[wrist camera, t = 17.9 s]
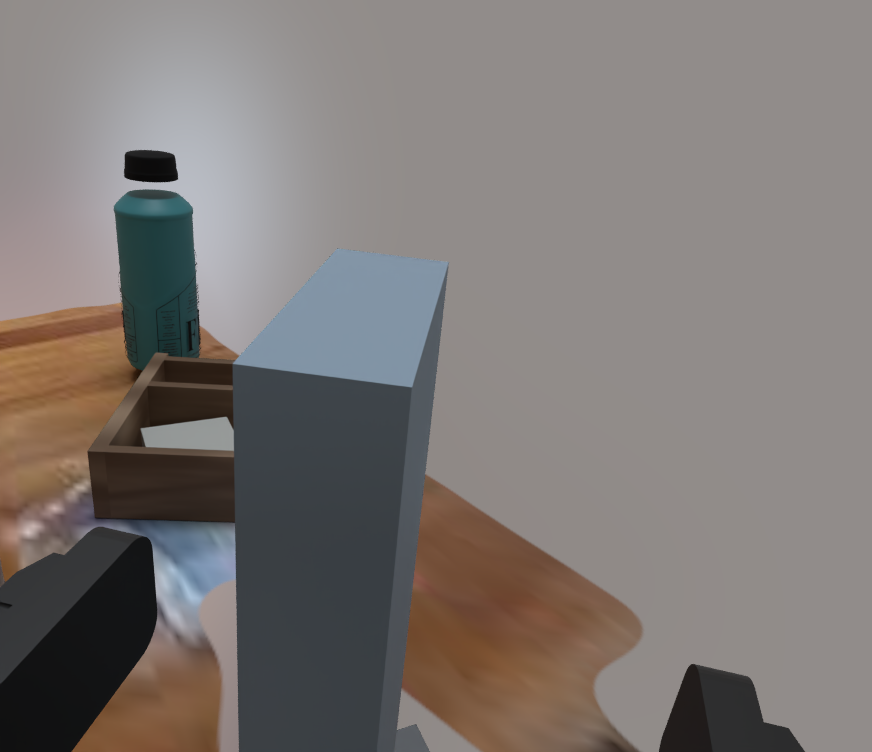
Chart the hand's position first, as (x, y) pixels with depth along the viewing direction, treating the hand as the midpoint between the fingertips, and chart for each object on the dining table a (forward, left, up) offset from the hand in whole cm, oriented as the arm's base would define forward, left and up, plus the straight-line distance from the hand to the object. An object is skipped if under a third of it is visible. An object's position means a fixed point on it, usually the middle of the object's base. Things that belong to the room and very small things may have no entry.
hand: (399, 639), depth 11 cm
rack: (+2, +42, -22) cm, 47 cm away
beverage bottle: (+2, +57, -22) cm, 62 cm away
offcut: (+2, +39, -20) cm, 44 cm away
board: (+2, +7, -21) cm, 22 cm away
